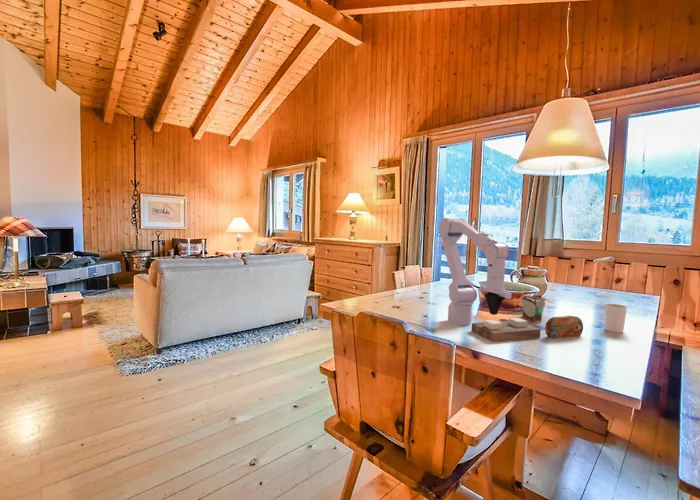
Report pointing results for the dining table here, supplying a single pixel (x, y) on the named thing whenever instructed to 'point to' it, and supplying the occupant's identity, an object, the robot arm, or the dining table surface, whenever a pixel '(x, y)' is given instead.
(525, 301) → the food container
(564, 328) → the tin
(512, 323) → the key back
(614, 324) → the beige cup
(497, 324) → the pale pink block
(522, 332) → the panel
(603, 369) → the dining table surface
